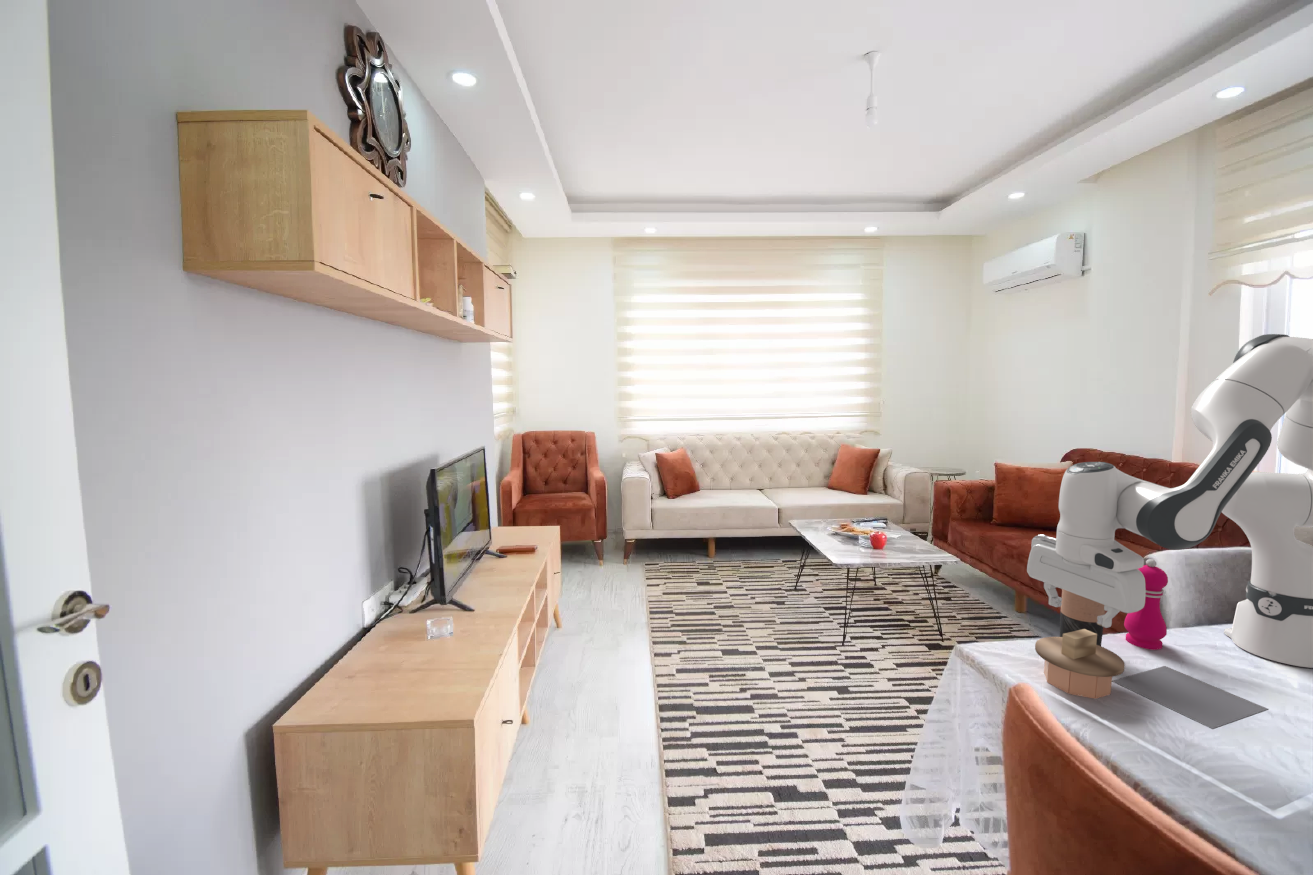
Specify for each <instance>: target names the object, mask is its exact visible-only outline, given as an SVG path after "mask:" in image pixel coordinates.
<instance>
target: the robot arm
mask: <svg viewBox="0 0 1313 875" xmlns="http://www.w3.org/2000/svg"><path fill="white" fill-rule="evenodd" d="M1190 414H1191V415H1190V416H1191V420H1192V422H1193V424H1194V427H1195V428H1196V429H1197V430H1198V431H1199V432H1200V433H1202V435H1204V436H1205V437H1206V438H1207V439H1208V440H1210V441H1211V442H1212V447H1211V450H1210V452H1209V453H1208V455H1207V456H1206V457H1205V458H1204V460H1203V461H1202V462H1201V464H1199V466H1198V467H1197V468H1196V470H1195V471H1194V472H1193V473H1192V475H1191V476H1190V477H1189V478H1188V480H1187V481H1186V482H1185V483H1184V484H1182V485H1179V486H1176V487H1171V488H1170V487H1167V486H1163V485H1160V484H1157V483H1154V482H1150V481H1147V480H1143V479H1141V478H1137V477H1135V476H1132V475H1129V474H1127V473H1125V472H1123V471H1121V470H1120V469H1118V468H1116V466H1115V465H1114V464H1112V463H1109V462H1105V461H1086V462H1084V461H1083V462H1078V463H1074V464H1073V465H1070V466H1068V468H1066V470H1065V471H1064V473H1063V476H1062V480H1061V484H1060V489H1059V497H1058V511H1059V514H1060V515H1059V516H1060V517H1059V521H1058V524H1057V527H1056V538H1055V537H1051V536H1048V535H1046V534H1038V535H1035V536H1034V537H1033V538H1032V539H1031V548H1030V552H1029V556H1028V560H1027V564H1026V572H1027V574H1028V576H1029V577H1030V578H1032V579H1035V580H1037V581H1040V582H1043V588H1044V590H1045V592H1046V594H1047V596H1048V605H1049V606H1052V607H1055V608H1061V605H1062V603H1061V602H1062V596H1059V593H1058V591H1057V588H1058V589H1061V590H1062V589H1064V590H1066V591H1069V592H1072V593H1074V594H1077V595H1080V596H1082V597H1085V598H1087V599H1090V600H1093V601H1095V602H1098V603H1101V604H1103V605H1104V610H1105V615H1102V616H1097V620H1098V621H1097V624H1098V625H1100V626H1102V627H1103V628H1105V629H1107V628H1111V626H1112V624H1113V618H1115V617H1116V616H1117V615H1118V613H1120V612H1122V613H1124V614H1128V613H1133V612H1137V611H1139V610H1141V609H1142V608H1143V607H1144V605H1145V594H1146V588H1145V578H1144V576H1143V574H1142V572H1141V571H1140V570H1138V568H1141V567H1143V565H1145V560H1144V559H1145V558H1143V557H1142V556H1141V555H1140V554H1139V553H1136V552H1135V551H1133V550H1131V549H1129V548H1128V547H1126V546H1124V545H1123V544H1121V543H1120V542H1119V541H1117V540H1116V539H1115V538H1116V537H1115V536H1116V535H1115V533H1116V530H1118V529H1125V530H1127V531H1129V532H1132V533H1133V534H1136V535H1138V536H1141V537H1144V538H1145V539H1147V540H1149V541H1151V542H1153V543H1154V544H1156V545H1158V546H1160V547H1161V548H1165V549H1168V550H1173V551H1179V550H1180V551H1182V550H1187V549H1190V548H1193V547H1196V546H1197V545H1199V544H1201V543H1202V542H1204V541H1205V540H1206V539H1207V538H1208V537H1209V536H1210V535H1211V533H1212V532H1213V530H1214V528H1215V526H1216V524H1217V521H1218V519H1219V517H1220V515H1221V513H1222V514H1223V515H1224V516H1225V517H1227V518H1228V519H1230V520H1232V521H1233V522H1234V523H1236V525H1237V526H1239V528H1241V530H1242V531H1243V533H1244V534H1245V535H1246V537H1247V539H1248V541H1249V544H1250V548H1251V574H1250V580H1248V581H1247V584H1246V586H1245V587H1246V588H1245V591H1246V592H1245V598H1246V599H1244V600H1241V601H1238V603H1237V604H1236V608H1235V613H1234V618H1233V622H1232V626H1231V627H1228V628H1227V627H1226V628H1225V629H1224V631H1223V634H1225V636H1227V637H1229V638H1230V639H1231V640H1232V642H1233V643H1234V644H1235V645H1236V647H1239V648H1241V649H1242V650H1244V651H1246V652H1248V653H1250V654H1252V655H1255V656H1258V657H1261V658H1264V659H1266V660H1271V661H1273V662H1278V663H1282V664H1287V665H1291V666H1294V667H1295V666H1296V667H1301V668H1311V669H1313V546H1312V545H1310V544H1309V543H1307V542H1304V541H1302V540H1299V539H1297V538H1296V534H1295V529H1296V528H1297V527H1298V528H1313V338H1307V337H1299V336H1296V337H1295V336H1289V335H1288V334H1282V333H1280V334H1277V333H1269V334H1267V333H1266V334H1262V335H1261V334H1260V335H1259V336H1257V337H1255V338H1252V339H1250V340H1249V341H1247V342H1245V343H1244V344H1243V345H1242V346H1241V347H1240V348H1239V349H1238V351H1237V353H1236V354H1235V357H1234V359H1233V362H1232V364H1231V365H1229V366H1228V367H1226V369H1224V370H1223V371H1222V372H1221V373H1220V374H1219V375H1218V376H1217V377H1216V378H1214V380H1212V382H1211V383H1209V384H1208V385H1207V386H1206V387H1205V388H1204V389H1203V390H1202V391H1201V392H1200V393H1199V394H1198V396H1197V397H1196V399H1195V400H1194V402H1193V404H1192V406H1191V407H1190ZM1284 415H1285V416H1284ZM1283 416H1284V418H1283V422H1282V426H1281V428H1280V432H1279V434H1278V437H1277V442H1276V446H1277V449H1278V451H1279V453H1280V454H1281V455H1282V457H1284V458H1285V459H1286V460H1288V461H1290V462H1292V463H1293V464H1295V465H1298V466H1300V467H1302V468H1305V469H1307V470H1306V471H1305V473H1284V472H1283V473H1281V472H1265V471H1264V472H1263V471H1254V470H1255V469H1256V468H1257V467H1258V465H1259V463H1260V462H1261V461H1262V460H1263V458H1264V457H1265V455H1266V454H1267V452H1268V451H1269V449H1270V446H1271V444H1272V438H1273V435H1272V433H1271V431H1272V428H1273V427H1274V426H1275V424H1276V423H1278V421H1279V420H1280V419H1281V417H1283Z"/></svg>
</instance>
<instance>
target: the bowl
mask: <svg viewBox="0 0 1313 875" xmlns="http://www.w3.org/2000/svg"><path fill="white" fill-rule="evenodd" d="M1043 675H1044V677H1045V680H1046V683H1047V684H1050V686H1051V685H1052V686H1053V687H1055V688H1057V689H1059V690H1060V691H1063V692H1065V693H1067V694H1069V695H1073V696H1079V697H1084V698H1089V699H1095V700H1097V699H1099V698H1104V697H1106V696H1109V695H1111V694H1112V693H1111V692H1112V683H1113V682H1112V681H1113V676H1110V677H1099V676H1090V675H1084V674H1080V673H1076V672H1072V671H1069V670H1066V669H1063V668H1060V667H1058V666H1055V665H1053V664H1051V663H1049V662H1047V661H1046V660H1044V666H1043Z"/></svg>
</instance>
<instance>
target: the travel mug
mask: <svg viewBox="0 0 1313 875" xmlns="http://www.w3.org/2000/svg"><path fill="white" fill-rule="evenodd" d="M1061 598H1062V602H1061V603H1062V605H1061V607H1060V612H1059V613H1060V614H1059V615H1060V617H1059V637H1063V634H1064V633H1069V632H1073V631H1077V630H1082V629H1086V630H1088V631H1091V632H1093V633H1096V634H1097V643H1096V645H1099V646H1101V647H1102V641H1103V635H1104V634H1103V633H1104V627H1102V626H1100V625H1098V624H1097V621H1098V620H1097V616H1102V615H1105V614H1106V611H1105V610H1104V605H1103V604H1101V603H1098V602H1095V601H1093V600H1090V599H1087V598H1085V597H1082V596H1080V595H1077V594H1074V593H1072V592H1069V591H1066V590H1064V589H1061Z"/></svg>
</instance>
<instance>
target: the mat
mask: <svg viewBox="0 0 1313 875" xmlns="http://www.w3.org/2000/svg"><path fill="white" fill-rule="evenodd" d="M1112 683H1114V684H1117V685H1119V686H1121V687H1122V688H1125V689H1127V690H1129V691H1131V692H1134V693H1135V694H1137V695H1140V696H1142V697H1143V698H1146V699H1148V700H1150V701H1152V702H1153V703H1157V704H1159V705H1161V706H1162V707H1165V708H1167V709H1169V710H1171V711H1173V712H1175V713H1178V714H1180V715H1182V716H1184V717H1185V718H1189V719H1190V720H1192V721H1194V722H1197V723H1199V724H1201V725H1203V726H1205V727H1207V728H1209V729H1211V730H1213V729H1217V728H1220V727H1222V726H1225V725H1227V724H1230V723H1234V722H1237V721H1239V720H1243V719H1245V718H1248V717H1250V716H1254V715H1256V714H1259V713H1262V712H1266V711H1267V710H1269V708H1267V707H1264V706H1262V705H1260V704H1257V703H1255V702H1253V701H1250V700H1248V699H1247V698H1244V697H1241V696H1239V695H1235V694H1233V693H1231V692H1229V691H1226V690H1224V689H1221V688H1220V687H1217V686H1214V685H1212V684H1210V683H1208V682H1205V681H1204V680H1200V679H1197V678H1195V677H1193V676H1190V675H1188V674H1186V673H1183V672H1181V671H1178V670H1176V669H1174V668H1171V667H1168V666H1166V665H1163V666H1159V667H1156V668H1155V667H1154V668H1152V669H1149V670H1144V671H1141V672H1137V673H1135V674H1130V675H1127V676H1124V677H1120V678H1117V679H1112Z"/></svg>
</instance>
